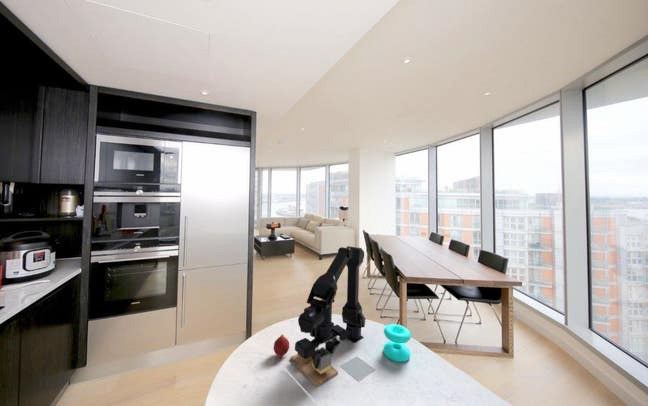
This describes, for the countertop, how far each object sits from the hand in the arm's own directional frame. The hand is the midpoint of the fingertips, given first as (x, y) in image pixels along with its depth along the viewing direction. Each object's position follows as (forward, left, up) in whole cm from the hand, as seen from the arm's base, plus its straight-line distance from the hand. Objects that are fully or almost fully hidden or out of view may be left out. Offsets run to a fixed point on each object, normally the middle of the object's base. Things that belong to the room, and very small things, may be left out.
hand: (321, 365), depth 78 cm
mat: (-12, +6, -3) cm, 14 cm away
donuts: (-30, +10, -4) cm, 32 cm away
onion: (+6, -16, -4) cm, 18 cm away
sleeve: (0, 0, -1) cm, 1 cm away
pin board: (0, -4, -3) cm, 6 cm away
